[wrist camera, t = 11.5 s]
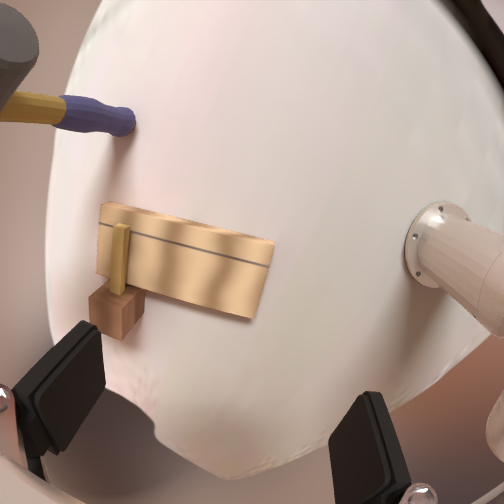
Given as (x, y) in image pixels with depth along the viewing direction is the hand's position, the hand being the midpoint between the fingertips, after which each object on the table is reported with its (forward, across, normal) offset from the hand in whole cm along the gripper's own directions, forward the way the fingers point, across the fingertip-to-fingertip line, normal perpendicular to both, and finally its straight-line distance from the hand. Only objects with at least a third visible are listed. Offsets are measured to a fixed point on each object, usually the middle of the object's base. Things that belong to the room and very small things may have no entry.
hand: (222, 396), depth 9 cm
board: (+28, +9, +7) cm, 30 cm away
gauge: (+28, +16, +10) cm, 34 cm away
